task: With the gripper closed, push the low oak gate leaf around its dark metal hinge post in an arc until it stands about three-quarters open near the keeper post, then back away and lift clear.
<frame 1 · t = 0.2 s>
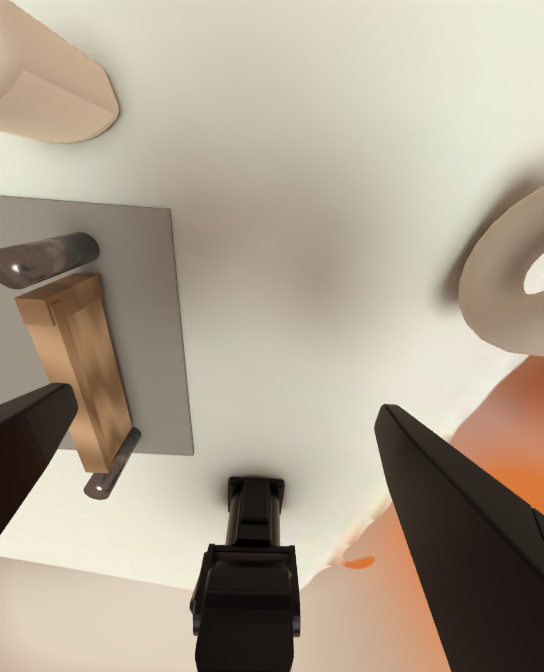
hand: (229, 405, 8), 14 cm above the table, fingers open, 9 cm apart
eye dropper bottle: (74, 106, 16), on the table
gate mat: (56, 352, 23), on the table
gate: (91, 381, 20), point 4 cm above the table, hinge at 0.0°
donut: (484, 248, 19), on the table
gate posts: (133, 429, 28), resting on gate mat
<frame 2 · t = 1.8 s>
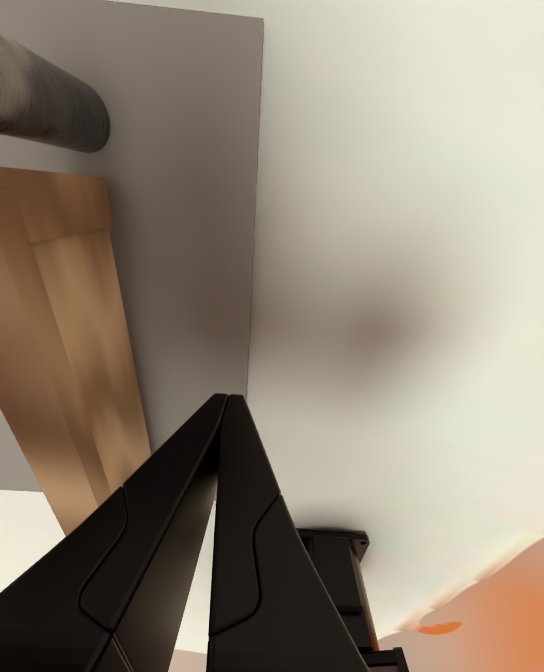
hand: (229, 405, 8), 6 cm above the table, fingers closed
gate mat: (29, 340, 14), on the table
gate: (88, 392, 11), point 4 cm above the table, hinge at 0.0°
gate posts: (152, 464, 18), resting on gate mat
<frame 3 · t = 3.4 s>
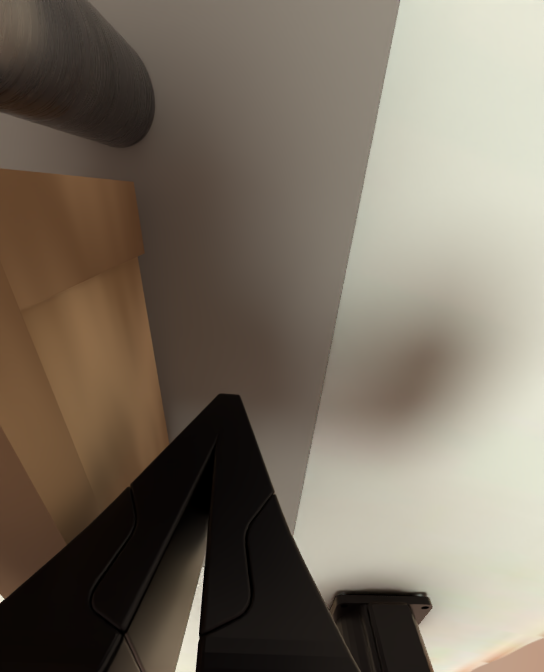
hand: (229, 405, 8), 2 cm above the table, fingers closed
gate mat: (30, 396, 10), on the table
gate: (112, 489, 7), point 4 cm above the table, hinge at 1.0°, touching gripper
gate posts: (181, 530, 15), resting on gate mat
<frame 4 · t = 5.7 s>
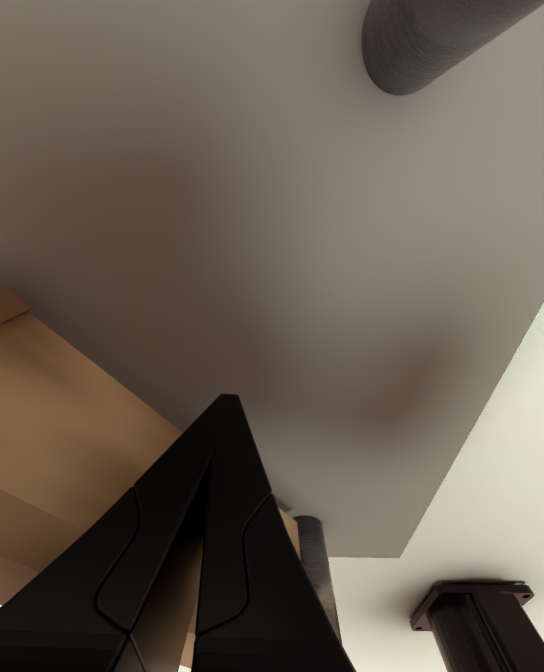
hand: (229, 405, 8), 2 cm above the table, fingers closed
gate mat: (196, 374, 10), on the table
gate: (141, 507, 8), point 4 cm above the table, hinge at 41.0°, touching gripper
gate posts: (301, 518, 14), resting on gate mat
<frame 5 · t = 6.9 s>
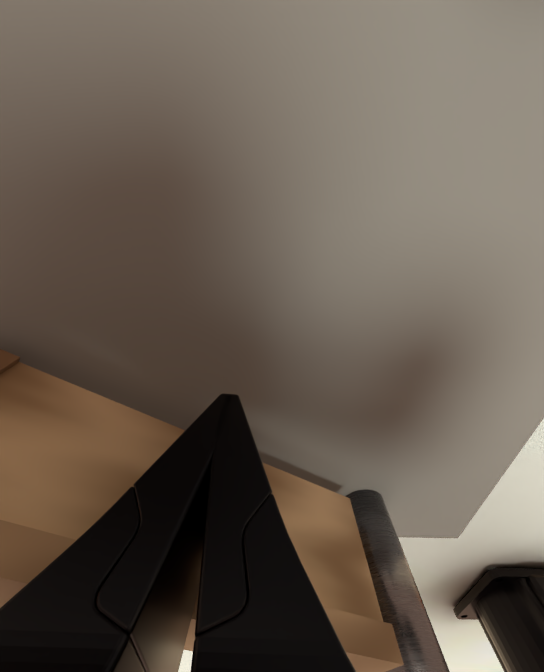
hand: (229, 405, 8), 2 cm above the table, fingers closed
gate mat: (271, 324, 9), on the table
gate: (164, 513, 8), point 4 cm above the table, hinge at 61.2°, touching gripper
gate posts: (359, 494, 13), resting on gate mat
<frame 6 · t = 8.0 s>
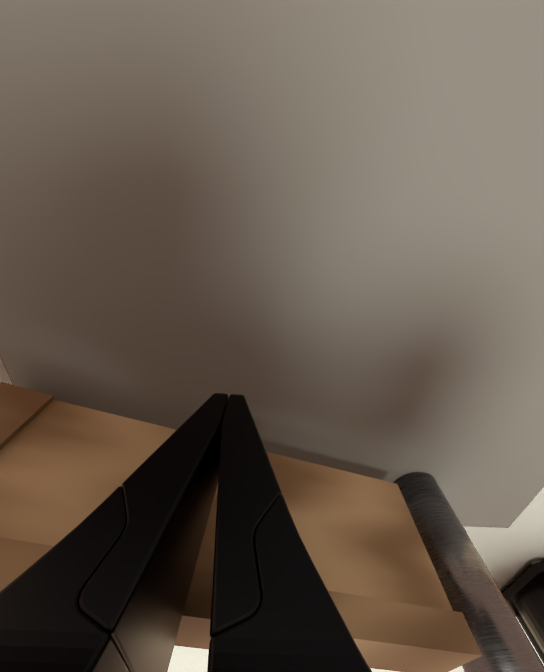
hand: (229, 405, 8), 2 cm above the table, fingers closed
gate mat: (341, 283, 8), on the table
gate: (205, 521, 8), point 4 cm above the table, hinge at 74.5°
gate posts: (409, 478, 13), resting on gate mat
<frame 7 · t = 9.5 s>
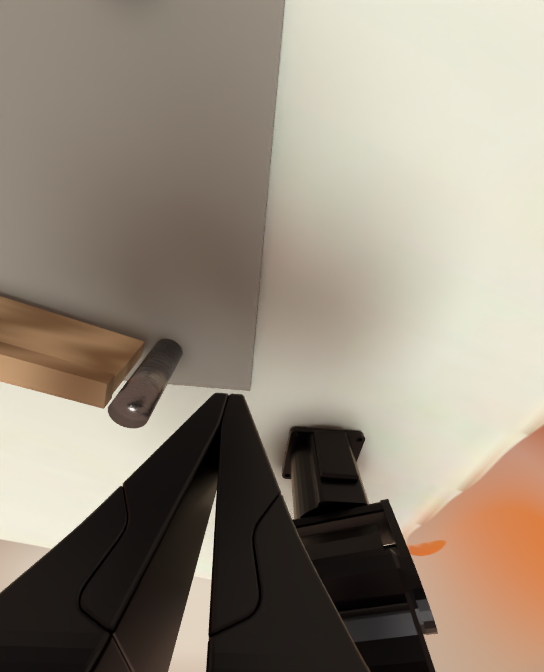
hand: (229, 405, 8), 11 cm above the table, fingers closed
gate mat: (66, 201, 15), on the table
gate posts: (170, 348, 19), resting on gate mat
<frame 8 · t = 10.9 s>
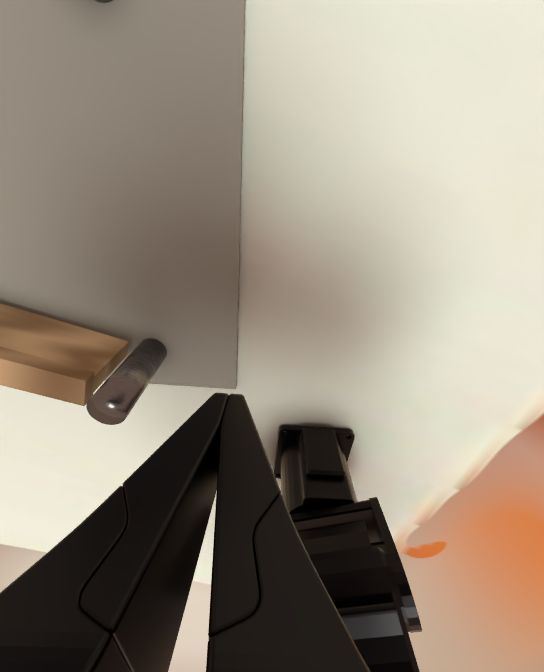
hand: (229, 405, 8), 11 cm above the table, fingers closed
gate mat: (47, 205, 15), on the table
gate posts: (155, 347, 20), resting on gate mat
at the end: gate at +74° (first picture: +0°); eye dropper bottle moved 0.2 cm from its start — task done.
